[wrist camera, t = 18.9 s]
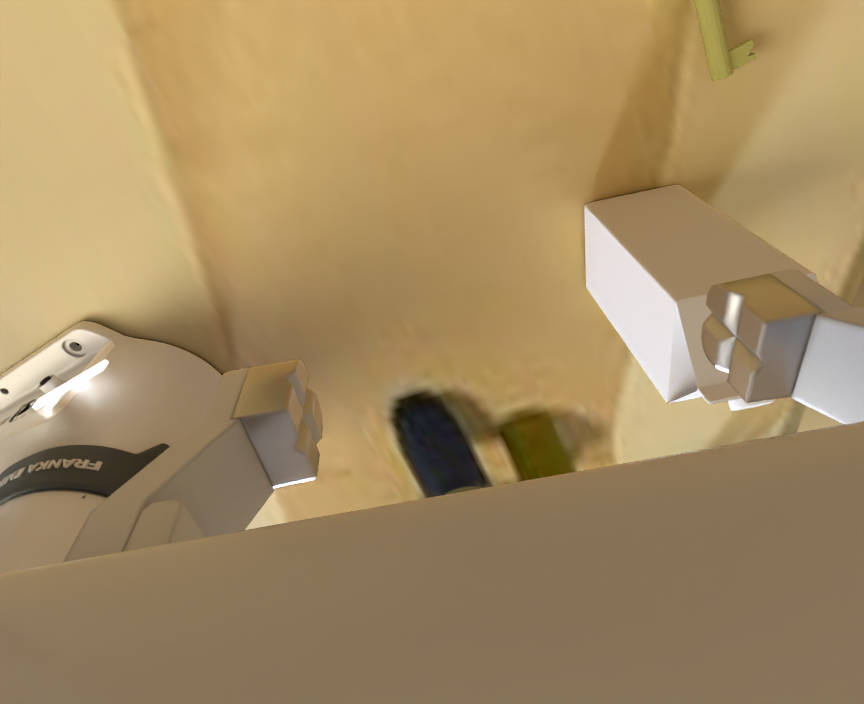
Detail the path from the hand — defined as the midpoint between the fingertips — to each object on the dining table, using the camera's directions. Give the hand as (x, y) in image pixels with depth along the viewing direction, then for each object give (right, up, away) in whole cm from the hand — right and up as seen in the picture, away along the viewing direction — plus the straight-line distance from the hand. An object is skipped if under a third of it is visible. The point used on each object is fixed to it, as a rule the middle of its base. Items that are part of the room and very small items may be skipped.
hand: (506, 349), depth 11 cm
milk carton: (+14, +9, +31) cm, 35 cm away
